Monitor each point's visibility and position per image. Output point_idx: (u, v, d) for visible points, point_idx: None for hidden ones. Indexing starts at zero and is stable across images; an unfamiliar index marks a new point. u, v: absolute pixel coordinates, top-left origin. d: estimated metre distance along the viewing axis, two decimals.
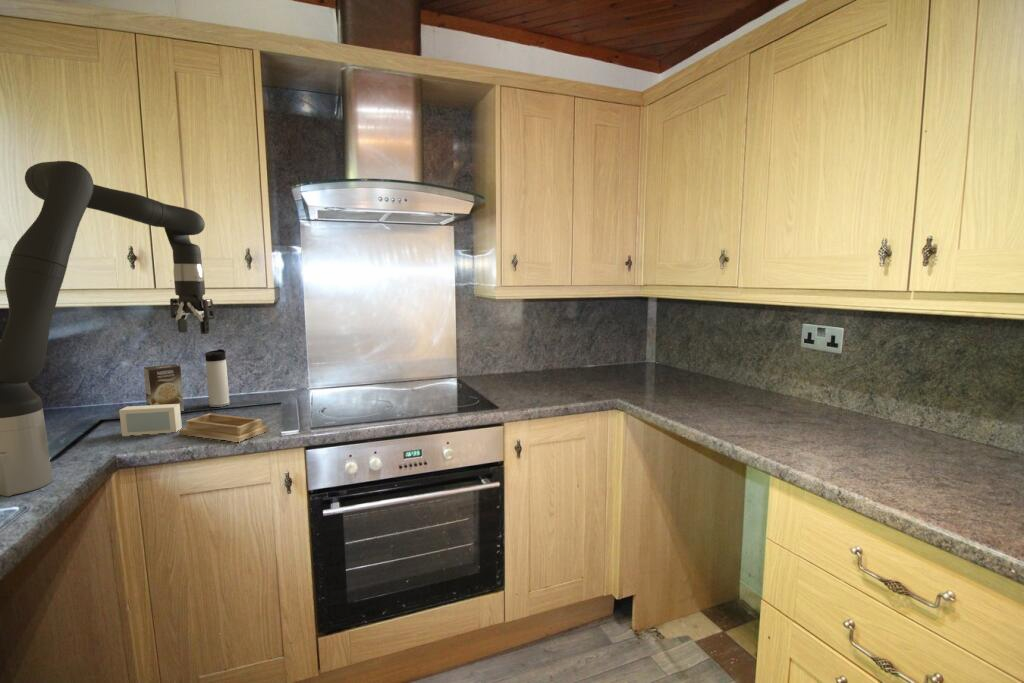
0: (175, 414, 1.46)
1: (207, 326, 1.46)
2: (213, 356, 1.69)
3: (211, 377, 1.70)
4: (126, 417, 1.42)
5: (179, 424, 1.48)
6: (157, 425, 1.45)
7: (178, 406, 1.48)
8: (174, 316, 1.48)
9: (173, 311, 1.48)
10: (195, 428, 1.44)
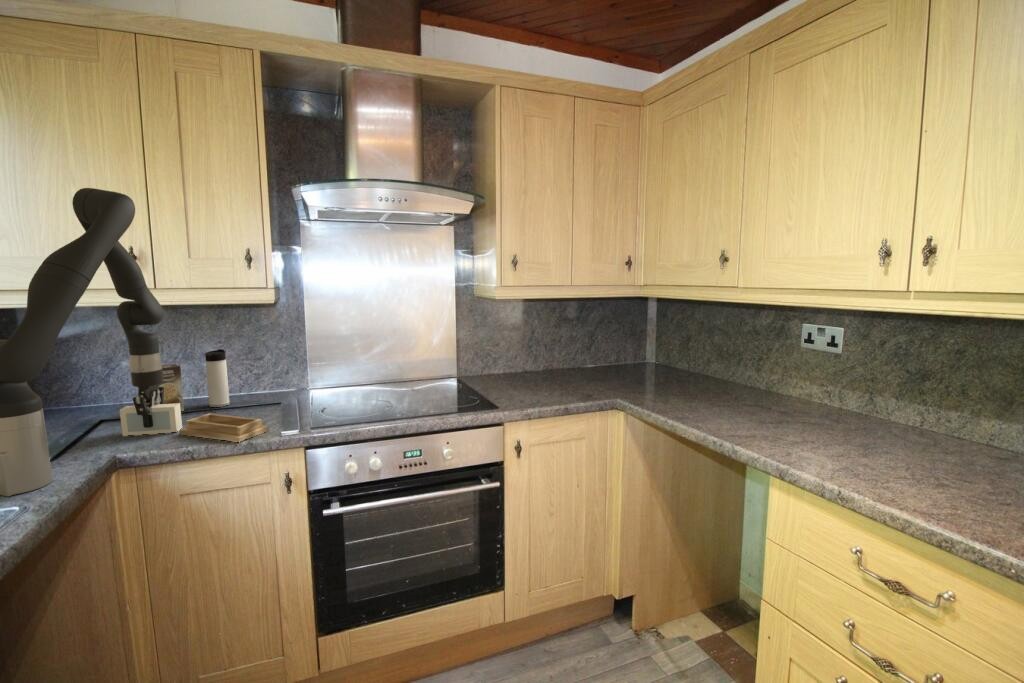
0: (175, 414, 1.46)
1: None
2: (213, 356, 1.70)
3: (211, 377, 1.70)
4: (127, 417, 1.42)
5: (179, 423, 1.48)
6: (157, 424, 1.45)
7: (178, 406, 1.48)
8: None
9: (146, 407, 1.41)
10: (195, 428, 1.44)
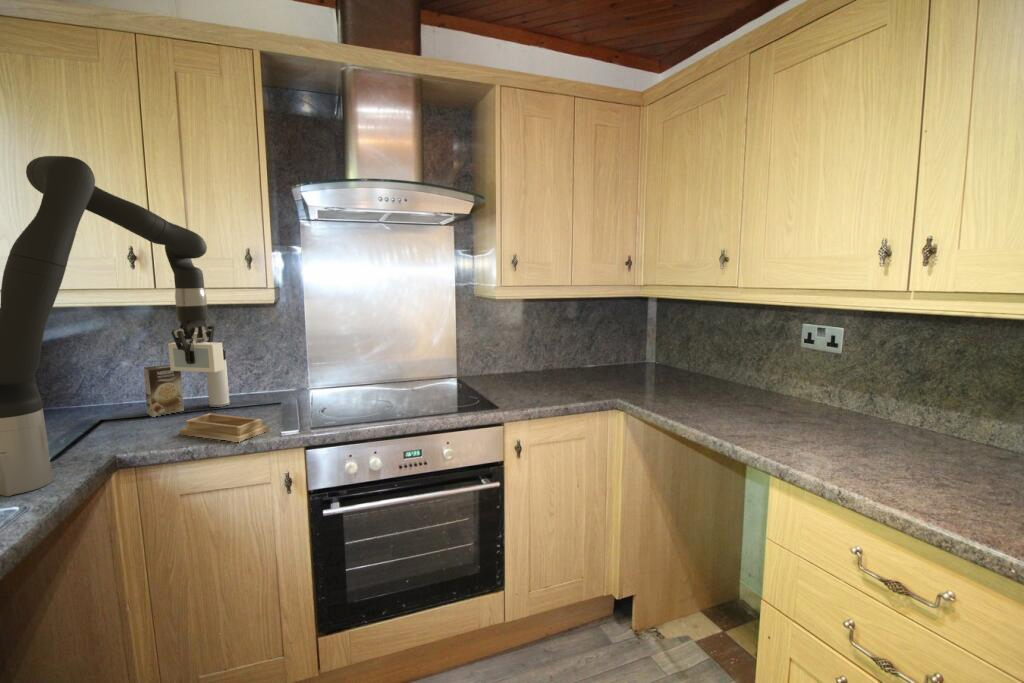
0: (213, 352, 1.40)
1: None
2: None
3: (211, 377, 1.70)
4: (174, 352, 1.41)
5: (220, 363, 1.43)
6: (198, 361, 1.41)
7: (220, 345, 1.43)
8: None
9: (185, 342, 1.38)
10: (195, 428, 1.44)
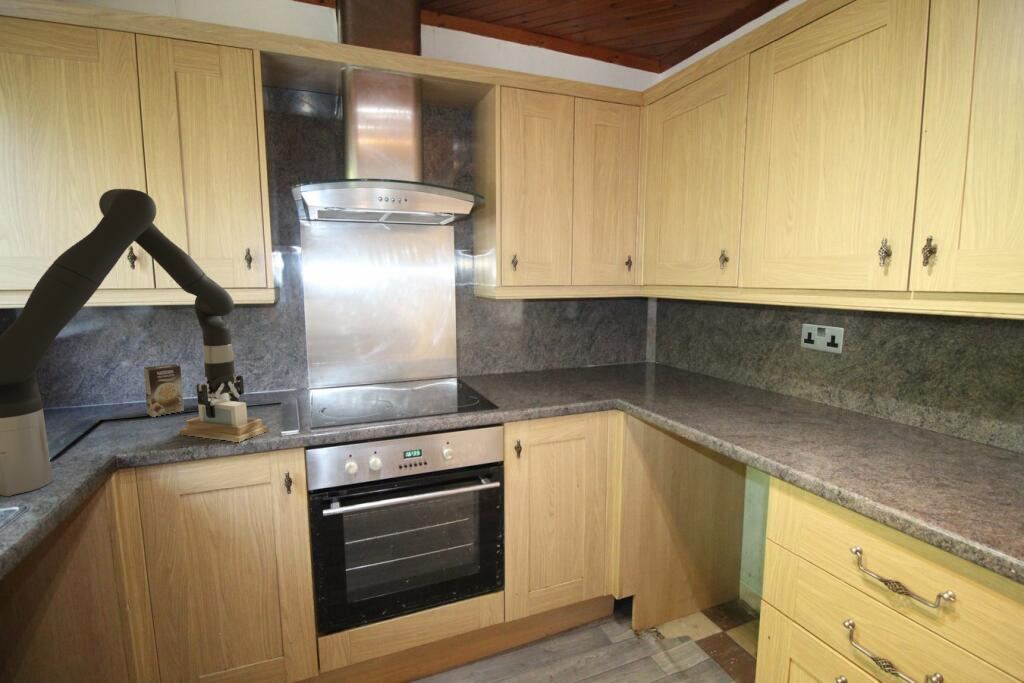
0: (236, 414, 1.41)
1: None
2: None
3: None
4: (202, 410, 1.45)
5: (243, 424, 1.44)
6: (223, 421, 1.43)
7: (243, 405, 1.43)
8: None
9: (207, 397, 1.38)
10: (195, 428, 1.44)
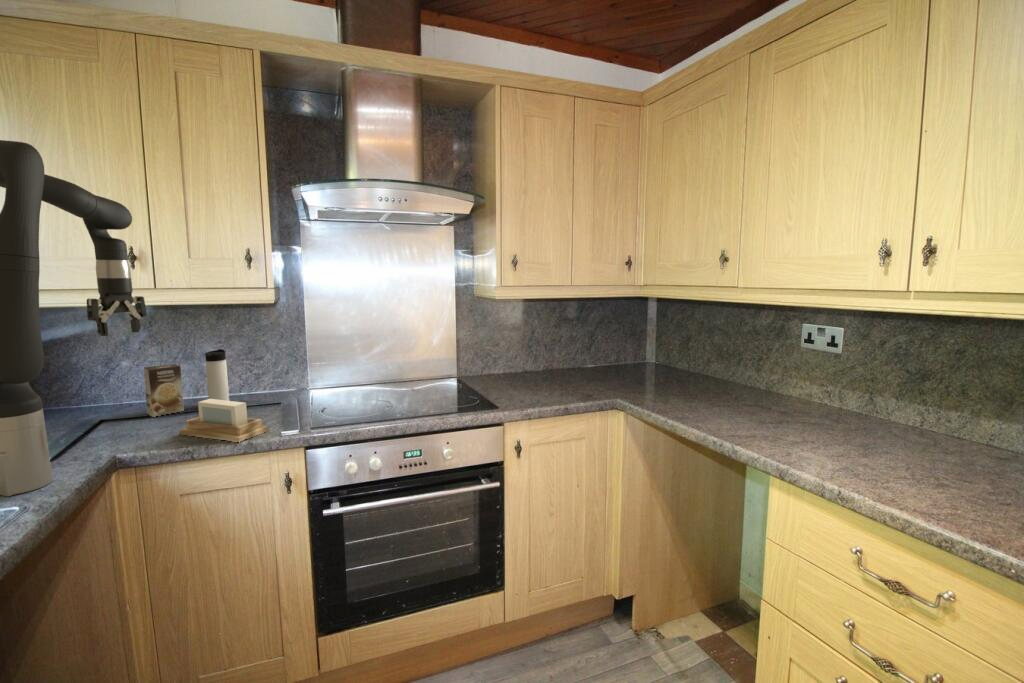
0: (236, 414, 1.41)
1: None
2: (213, 356, 1.69)
3: (211, 377, 1.70)
4: (202, 410, 1.45)
5: (243, 424, 1.44)
6: (223, 421, 1.43)
7: (243, 405, 1.43)
8: None
9: (97, 313, 1.32)
10: (195, 428, 1.44)
